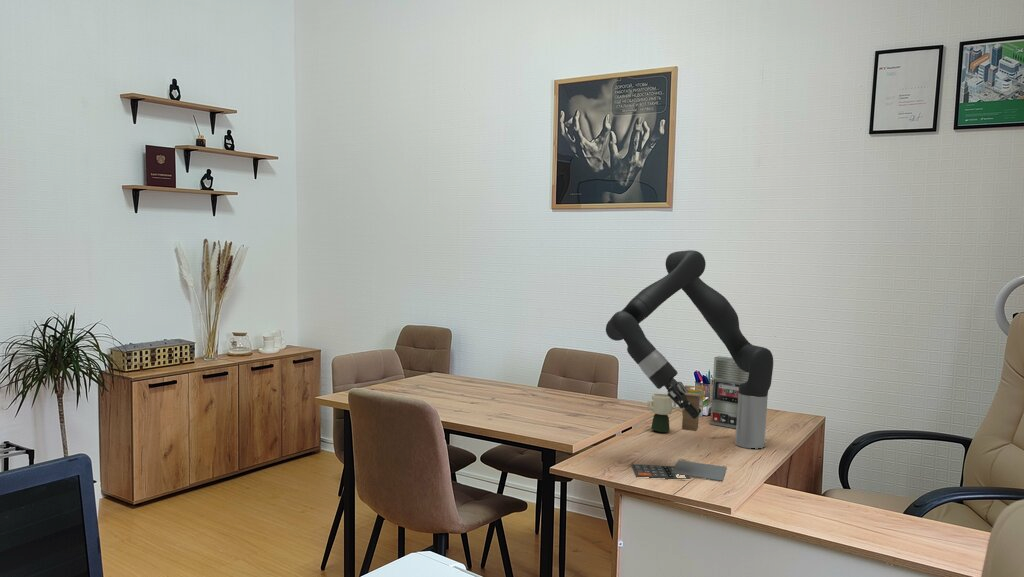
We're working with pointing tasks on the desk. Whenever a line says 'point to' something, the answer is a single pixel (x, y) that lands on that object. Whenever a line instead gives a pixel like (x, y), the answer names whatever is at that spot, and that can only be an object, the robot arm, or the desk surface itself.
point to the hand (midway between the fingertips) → (697, 414)
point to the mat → (699, 470)
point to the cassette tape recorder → (726, 391)
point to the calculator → (655, 471)
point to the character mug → (661, 411)
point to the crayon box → (699, 391)
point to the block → (687, 420)
